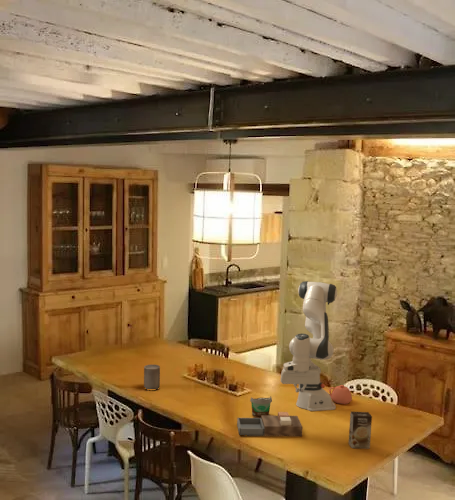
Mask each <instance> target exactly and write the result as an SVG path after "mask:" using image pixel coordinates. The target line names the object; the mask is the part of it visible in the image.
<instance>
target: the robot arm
mask: <svg viewBox="0 0 455 500" xmlns="http://www.w3.org/2000/svg"><path fill="white" fill-rule="evenodd" d="M297 289H298V292H297V293H298V296H299V298H300V299H302V300H303V302H302V303H303V304H302V312H303V315H304V316H305V321H304V328H305V329H306V331H307V332H309V333H310V334H311V335H312V337H310V335H309V334H306V333H297V334H296V335H295V336H294V337H293V338H292V339H291V340H290V342H289V344H288V349H289V352H290V353H291V355H292V361H287V362H284V363H283V369H282V370H281V373H280V382H281V384H283V385H293V386H294V388H295V393H298V396H297V400H296V403H295V405H296V406H297V407H299V408H300V409H303V410H304V409H305V410H307V411H310V412H312V411H313V412H317V411H319V412H320V411H331V410H334V411H335V410H336V407H337V406H336V403H335V402H334V401H333V400H332V399H331V396H330V392H328V391H326V390H325V386H326V385H325V384H324V383H323V382H321V367H319V366H318V365H317V364H315V363H314V362H313V361H312V359H314V360H321V361H323V360H329V359H331V358H332V356H333V355H334V351H335V350H334V346H333V344H332V343H331V342H330V332H329V331H330V329H329V315H328V313H327V306H329V305H330V304H331V303H334V301H336V299H337V297H338V289H337V286H336V285H334V284H332V283H326V282H321V281H308V280H304V281H302V282H300V284H299V286H298V288H297ZM297 386H298V387H297Z"/></svg>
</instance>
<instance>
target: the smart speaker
mask: <svg viewBox="0 0 455 500" xmlns="http://www.w3.org/2000/svg"><path fill="white" fill-rule="evenodd" d="M160 379H161V367H160V365H158V364H147V365H144V366H143V388H144V387H145V388H146V389H158V388H159V387H161V386H160V383H161V382H160V381H161V380H160ZM158 390H159V389H158Z"/></svg>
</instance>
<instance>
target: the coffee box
mask: <svg viewBox="0 0 455 500" xmlns="http://www.w3.org/2000/svg"><path fill="white" fill-rule="evenodd" d="M372 421H373V416H372V415H371V413H370V412H369V411H351V410H350V417H349V431H348V432H349V433H348V445H349V447H350V448H352V449H370V448H371V437H372V436H371V435H372V423H373V422H372Z"/></svg>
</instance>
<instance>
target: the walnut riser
mask: <svg viewBox="0 0 455 500" xmlns="http://www.w3.org/2000/svg"><path fill="white" fill-rule="evenodd" d="M289 417H290V419H291V425H281V424H280V420H279V418H278V415H270V414H269V415H261V419H262V422H263V425H264V429H265V432H264V436H263V437H303V424H302V423H301V420H300V418H299V416H298V415H289Z"/></svg>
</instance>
